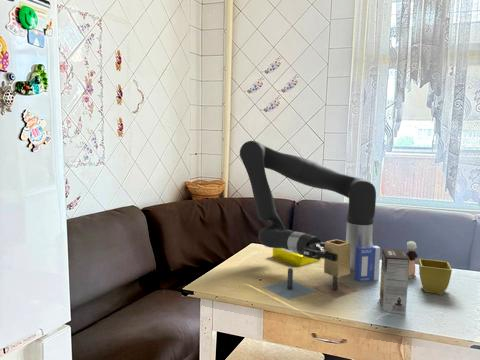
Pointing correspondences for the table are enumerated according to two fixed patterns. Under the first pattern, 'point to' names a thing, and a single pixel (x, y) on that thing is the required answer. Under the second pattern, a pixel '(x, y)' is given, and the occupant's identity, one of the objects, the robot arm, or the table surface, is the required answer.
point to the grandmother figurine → (412, 258)
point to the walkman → (367, 263)
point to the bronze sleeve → (338, 258)
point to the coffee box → (394, 280)
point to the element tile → (292, 257)
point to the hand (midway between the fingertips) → (342, 256)
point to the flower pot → (434, 275)
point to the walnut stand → (335, 288)
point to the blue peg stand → (290, 288)
